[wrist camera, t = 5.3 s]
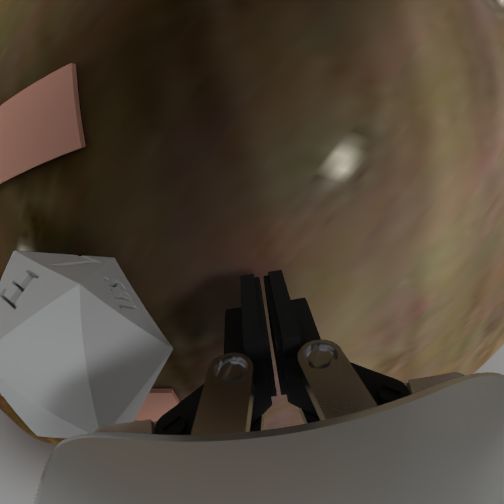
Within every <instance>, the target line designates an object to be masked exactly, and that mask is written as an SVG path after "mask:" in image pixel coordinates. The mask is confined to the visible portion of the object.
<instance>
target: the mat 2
mask: <svg viewBox="0 0 504 504" xmlns="http://www.w3.org/2000/svg"><path fill="white" fill-rule="evenodd" d="M178 403H180V401H179V399H178V397H177V396H176V394H175V392H174V390H173V388H151V390H150V392H149V393H148V395H147V397H146V399H145V401H144V403H143V404H142V406H141V408H140V410H139V412H138V414H137V415H136V417H135V419H134V420H140V421H142V420H148V419H151V420H152V421H158V419H159V418H160V417H161V416H162V415H164V414H165V413H166V412H168V411H169V410H170V409H172V408H173V407H174V406H176V405H177V404H178Z"/></svg>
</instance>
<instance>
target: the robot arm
mask: <svg viewBox="0 0 504 504" xmlns="http://www.w3.org/2000/svg"><path fill="white" fill-rule="evenodd" d="M240 280H241V304H242V307H241V308H233V309H226V311H225V338H224V355H221V356H219V357H217V358H216V359H214V361H213V362H212V363H211V364H210V366H209V368H208V372H207V376H206V379H205V383H204V384H203V385H202V386H200V387H199V388H198V389H197V390H195V391H194V392H193V393H191V394H190V395H189V396H188V397H186V398H185V399H184V400H182V401H181V402H180V403H178V404H177V405H176V406H174V407H173V408H172V409H170V410H169V411H168V412H166V413H165V414H164V415H162V416H161V417H160V418H159V419H158V421H152V420H151V419H148V420H142V421H136V422H128V423H121V424H112V425H105V426H101V427H99V428H98V429H96V430H95V432H94V433H87V434H82V435H77V436H73V437H70V438H67V439H65V440H63V441H61V442H60V443H58V444H57V445H56V446H55V448H54V449H53V450H52V452H51V454H50V456H49V458H48V460H47V462H46V464H45V467H44V470H43V472H42V475H41V478H40V482H39V485H38V489H37V493H36V497H35V501H34V504H504V375H502V374H499V373H488V372H487V373H476V374H470V375H466V376H465V375H463V374H461V373H458V372H453V373H447V374H442V375H436V376H431V377H424V378H418V379H411V380H409V381H408V383H403V382H401V381H399V380H397V379H394V378H391V377H388V376H386V375H383V374H380V373H377V372H375V371H372V370H369V369H367V368H364V367H361V366H359V365H356V364H353V363H351V362H349V360H348V359H347V357H346V356H345V354H344V353H343V351H342V350H341V348H340V347H339V346H338V345H337V344H335V343H334V342H332V341H328V340H321V339H320V336H319V333H318V330H317V328H316V325H315V322H314V320H313V317H312V314H311V311H310V309H309V306H308V303H307V301H306V299H305V298H300V299H294V300H290V297H289V294H288V290H287V287H286V284H285V280H284V277H283V274H282V271H281V270H277V271H271V272H268V276H264V284H265V292H266V299H267V307H268V314H269V322H270V329H271V336H272V342H273V348H274V354H275V360H276V366H277V372H278V378H279V384H280V390H281V395H285V394H287V398H288V402H290V403H291V404H293V405H295V406H297V407H299V410H300V414H301V416H302V419H303V421H304V424H302V425H297V426H291V427H284V428H278V429H270V430H263V426H264V412H265V411H266V410H267V409H268V408H269V407H270V406H271V405H272V400H271V397H272V396H277V395H276V387H275V380H274V373H273V365H272V358H271V351H270V344H269V337H268V331H267V324H266V317H265V311H264V304H263V298H262V291H261V285H260V278H259V277H254V274H250V275H243V276H240Z"/></svg>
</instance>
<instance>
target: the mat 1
mask: <svg viewBox="0 0 504 504" xmlns="http://www.w3.org/2000/svg"><path fill="white" fill-rule="evenodd" d="M83 147H86V144H85V138H84V132H83V126H82V119H81V112H80V104H79V95H78V85H77V72H76V64H74V63H70V64H68V65H66V66H64V67H62V68H60V69H58V70H56V71H55V72H53V73H51V74H49V75H47V76H45V77H44V78H42V79H40V80H38V81H37V82H35V83H33V84H32V85H30V86H29V87H27V88H25V89H24V90H22V91H21V92H19V93H18V94H16V95H15V96H13V97H12V98H10V99H9V100H7V101H6V102H5V103H3V104H2V105H1V106H0V184H1V183H3V182H5V181H7V180H9V179H11V178H13V177H15V176H17V175H19V174H21V173H23V172H25V171H27V170H29V169H32V168H34V167H36V166H38V165H40V164H43V163H45V162H47V161H50V160H52V159H55V158H57V157H59V156H62V155H64V154H67V153H70V152H72V151H75V150H78V149H80V148H83Z"/></svg>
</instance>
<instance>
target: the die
mask: <svg viewBox="0 0 504 504" xmlns="http://www.w3.org/2000/svg"><path fill="white" fill-rule="evenodd" d="M172 350H173V347H172V346H171V345H170V343H169V342H168V340H167V339H166V338H165V336H164V335H163V333H162V332H161V330H160V329H159V328H158V326H157V325H156V323H155V322H154V320H153V319H152V317H151V316H150V314H149V313H148V311H147V310H146V308H145V307H144V305H143V304H142V302H141V301H140V299H139V298H138V296H137V294H136V293H135V291H134V290H133V288H132V286H131V285H130V283H129V281H128V280H127V278H126V276H125V275H124V273H123V271H122V270H121V268H120V266H119V265H118V263H117V261H116V259H115V258H114V257H98V256H83V255H82V256H81V257H80V256H77V255H69V254H55V253H42V252H29V251H16V250H14V251H13V253H12V255H11V257H10V260H9V262H8V264H7V266H6V269H5V271H4V273H3V276H2V278H1V280H0V393H1V394H2V396H3V397H4V398H5V400H6V401H7V402H8V404H9V405H10V406H11V407H12V408H13V410H14V411H15V412H16V413H17V414H18V416H19V417H20V418H21V419H22V420H23V421H24V423H25V424H26V425H27V426H28V427H29V428H30V429H31V430H32V431H33V432H34V433H35V434H36V435H37V436H42V437H53V438H70V437H73V436H77V435H82V434H87V433H94V432H95V430H96V429H98V428H99V427H101V426H105V425H112V424H121V423H128V422H133V421H134V419H135V417H136V415H137V414H138V412H139V410H140V408H141V406H142V404H143V403H144V401H145V399H146V397H147V395H148V393H149V392H150V390H151V388H152V386H153V384H154V383H155V381H156V379H157V377H158V375H159V374H160V372H161V370H162V368H163V366H164V365H165V363H166V361H167V359H168V357H169V356H170V354H171V352H172Z"/></svg>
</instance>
